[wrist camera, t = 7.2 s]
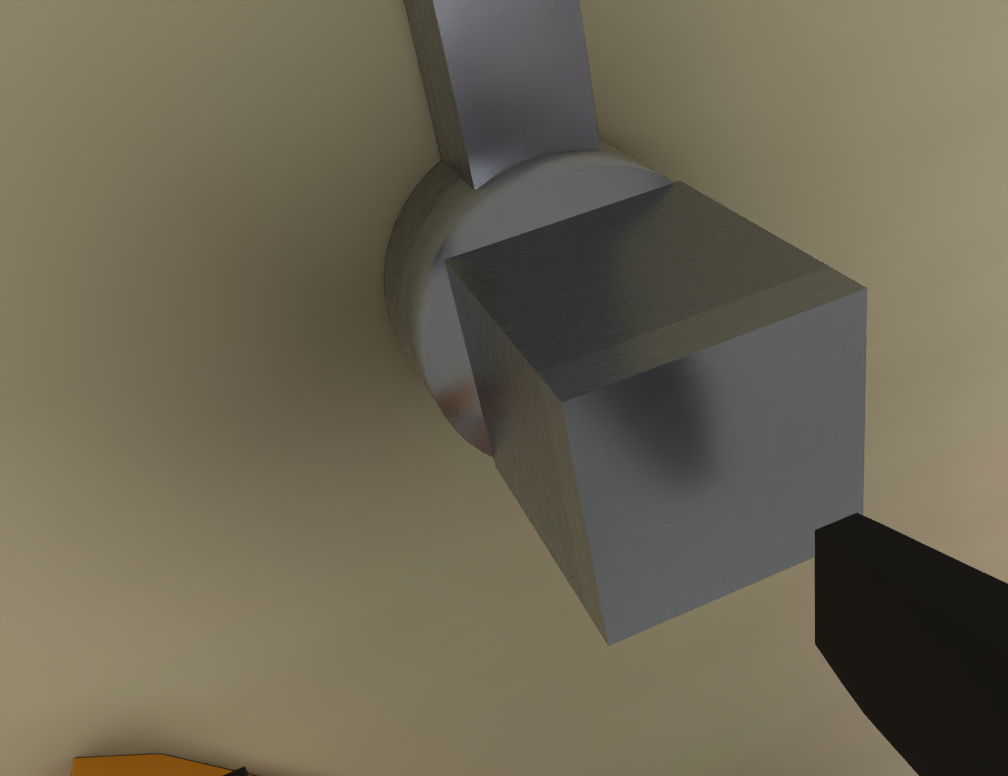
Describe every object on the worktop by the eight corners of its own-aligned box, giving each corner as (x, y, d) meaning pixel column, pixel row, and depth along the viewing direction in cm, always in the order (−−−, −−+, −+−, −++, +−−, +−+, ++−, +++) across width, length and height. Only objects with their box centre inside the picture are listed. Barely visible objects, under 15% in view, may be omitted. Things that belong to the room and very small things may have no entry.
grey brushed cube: (700, 388, 19) (862, 536, 15) (495, 466, 18) (608, 646, 14) (679, 180, 17) (867, 288, 13) (444, 259, 16) (562, 402, 12)
